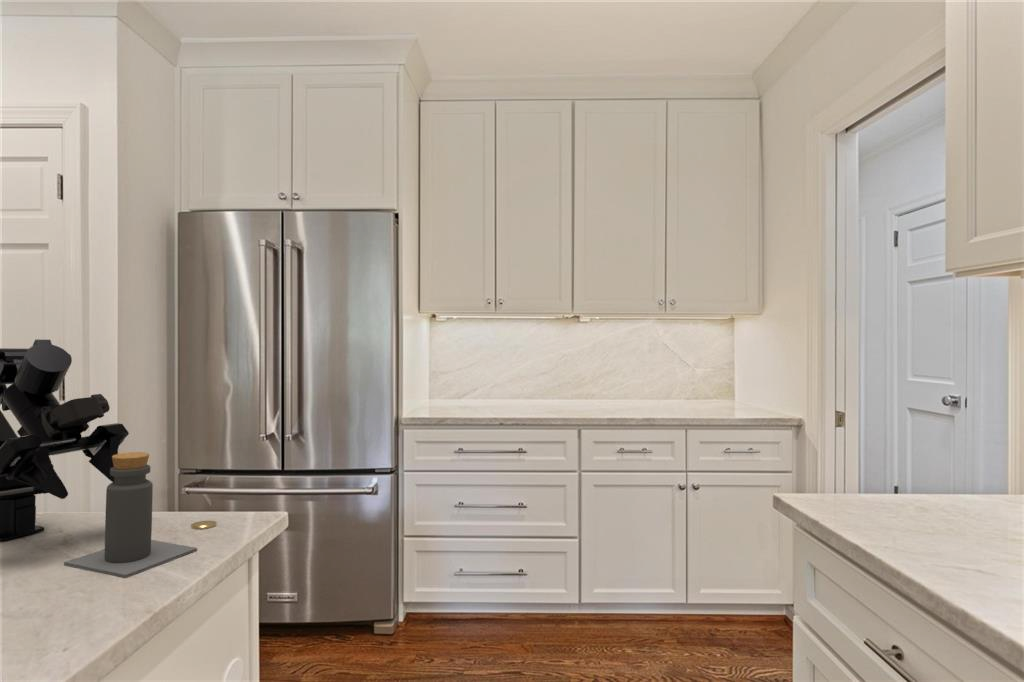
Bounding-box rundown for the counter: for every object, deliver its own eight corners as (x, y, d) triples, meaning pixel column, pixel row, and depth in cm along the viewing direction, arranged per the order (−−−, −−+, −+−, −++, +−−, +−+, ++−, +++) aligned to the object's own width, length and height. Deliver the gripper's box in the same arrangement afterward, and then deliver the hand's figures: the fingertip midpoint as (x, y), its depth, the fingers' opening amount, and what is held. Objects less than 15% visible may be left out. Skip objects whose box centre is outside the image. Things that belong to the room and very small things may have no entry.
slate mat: (64, 564, 88) (64, 562, 88) (139, 540, 100) (139, 537, 100) (125, 577, 84) (125, 574, 84) (197, 550, 96) (197, 547, 96)
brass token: (185, 527, 107) (185, 525, 107) (204, 521, 111) (204, 519, 111) (203, 530, 105) (203, 528, 105) (221, 523, 109) (221, 522, 109)
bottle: (118, 566, 87) (121, 460, 87) (95, 558, 90) (98, 455, 90) (159, 554, 92) (162, 454, 92) (136, 547, 95) (139, 449, 95)
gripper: (6, 381, 86) (67, 467, 84) (121, 375, 104) (174, 445, 102) (-38, 434, 88) (20, 519, 85) (82, 418, 106) (133, 488, 104)
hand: (94, 489), depth 94 cm, fingers open, 9 cm apart
